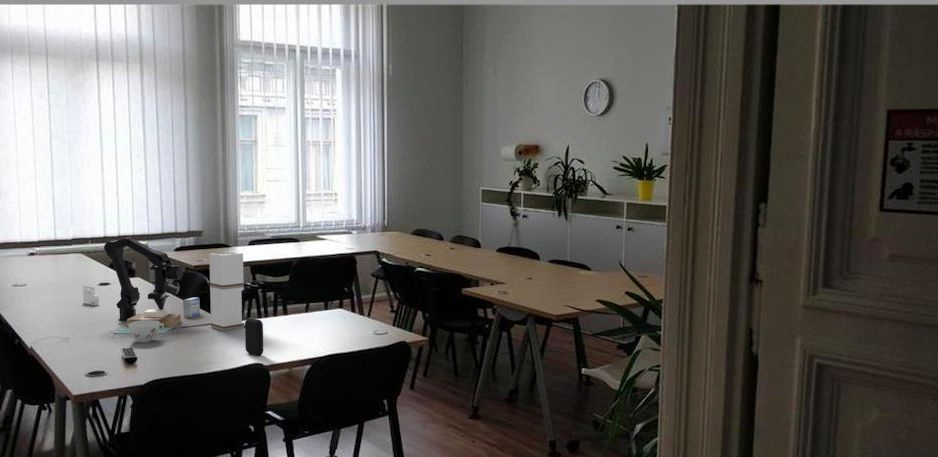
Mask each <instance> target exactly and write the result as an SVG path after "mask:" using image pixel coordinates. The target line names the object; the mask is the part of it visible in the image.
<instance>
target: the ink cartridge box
mask: <svg viewBox="0 0 938 457" xmlns="http://www.w3.org/2000/svg"><path fill="white" fill-rule="evenodd" d="M95 292H96V291H95V287H92V286H86V285H82V304H83V303H86V304H85V305H89V304H91V305H90V306H99V305H100V304H99V302H100V299H99V295H98V294H97V295H96V294H95Z"/></svg>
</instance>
